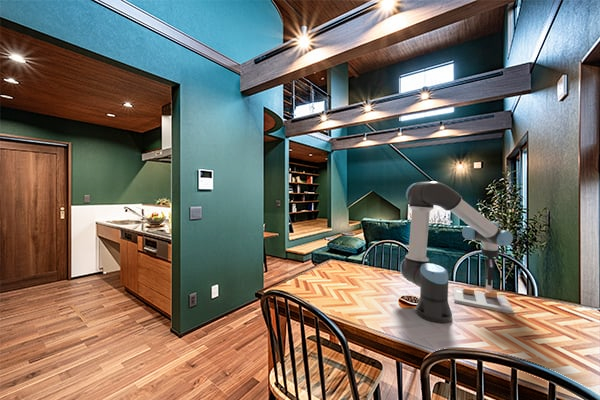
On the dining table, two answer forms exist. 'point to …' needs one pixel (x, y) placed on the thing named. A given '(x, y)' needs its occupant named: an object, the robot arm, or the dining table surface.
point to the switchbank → (482, 300)
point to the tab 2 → (490, 294)
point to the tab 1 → (468, 290)
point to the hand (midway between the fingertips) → (488, 290)
